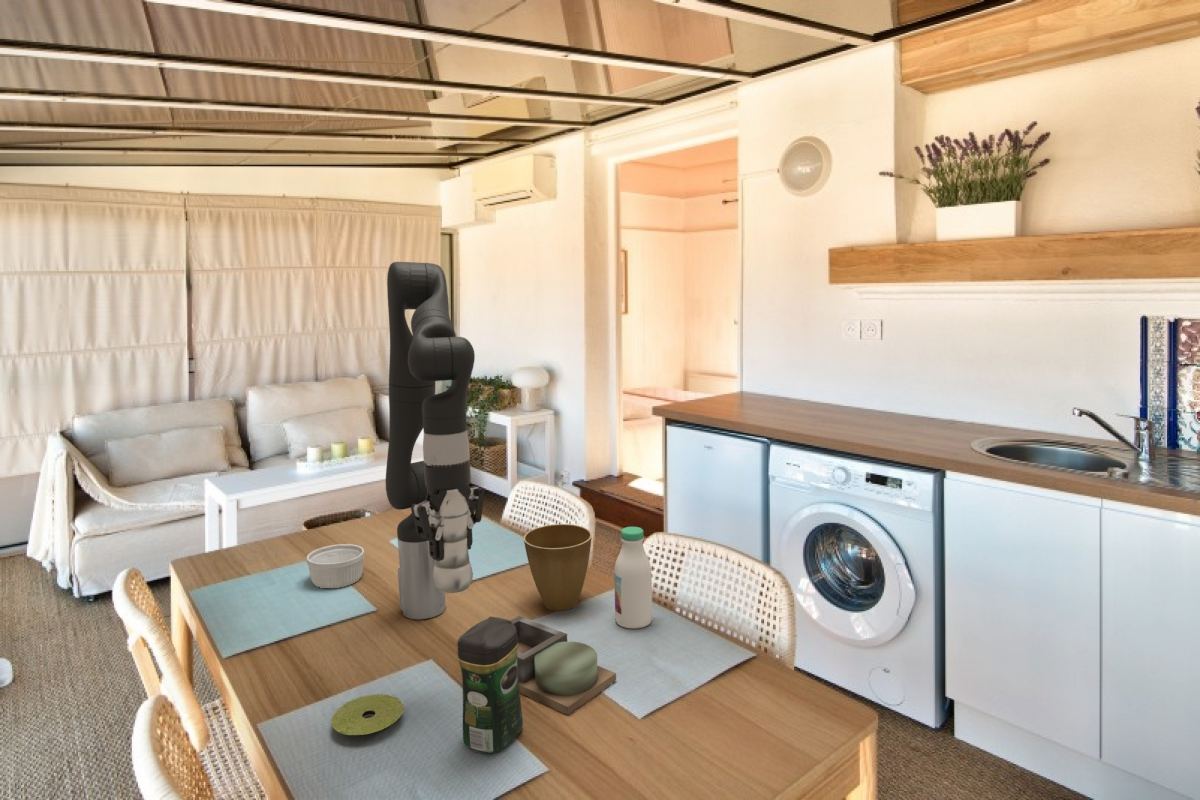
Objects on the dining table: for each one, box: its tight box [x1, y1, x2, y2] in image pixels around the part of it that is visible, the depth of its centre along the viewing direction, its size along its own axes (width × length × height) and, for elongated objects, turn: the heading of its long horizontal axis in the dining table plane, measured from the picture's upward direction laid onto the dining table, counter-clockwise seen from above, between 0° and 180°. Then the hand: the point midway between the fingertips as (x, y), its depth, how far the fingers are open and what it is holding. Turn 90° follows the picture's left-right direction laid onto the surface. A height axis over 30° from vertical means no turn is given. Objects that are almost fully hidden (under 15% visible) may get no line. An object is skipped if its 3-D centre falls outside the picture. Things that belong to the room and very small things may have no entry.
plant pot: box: [523, 523, 593, 612], centre depth 158 cm, size 15×15×16 cm
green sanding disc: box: [330, 693, 405, 736], centre depth 117 cm, size 11×11×2 cm
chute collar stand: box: [509, 615, 617, 716], centre depth 130 cm, size 24×13×6 cm, turn 51°
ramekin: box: [306, 543, 365, 589], centre depth 175 cm, size 13×13×7 cm
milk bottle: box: [614, 526, 653, 630], centre depth 149 cm, size 8×8×20 cm
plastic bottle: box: [429, 489, 474, 594], centre depth 122 cm, size 6×7×20 cm
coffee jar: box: [457, 616, 524, 754], centre depth 111 cm, size 10×8×19 cm
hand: (451, 553), depth 122 cm, fingers closed on plastic bottle, 5 cm apart
